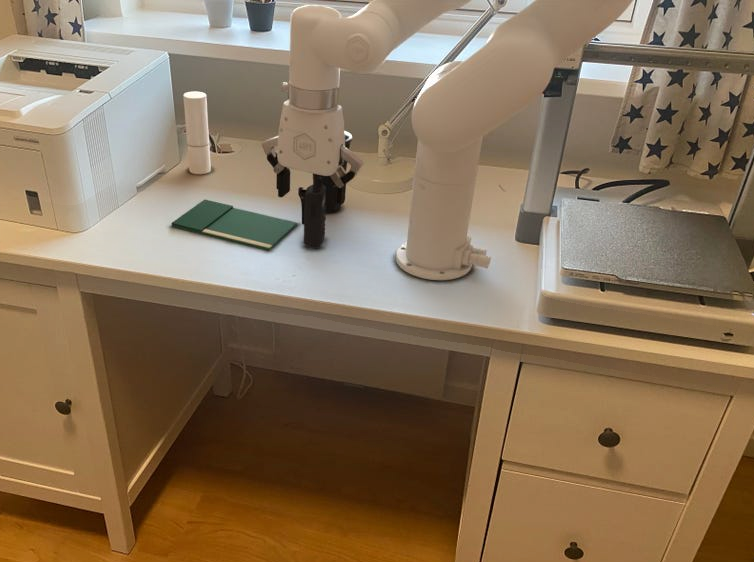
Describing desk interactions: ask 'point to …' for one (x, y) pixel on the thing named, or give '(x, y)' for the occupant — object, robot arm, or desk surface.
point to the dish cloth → (234, 225)
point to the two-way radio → (313, 212)
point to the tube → (197, 132)
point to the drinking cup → (329, 182)
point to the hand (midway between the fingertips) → (310, 200)
